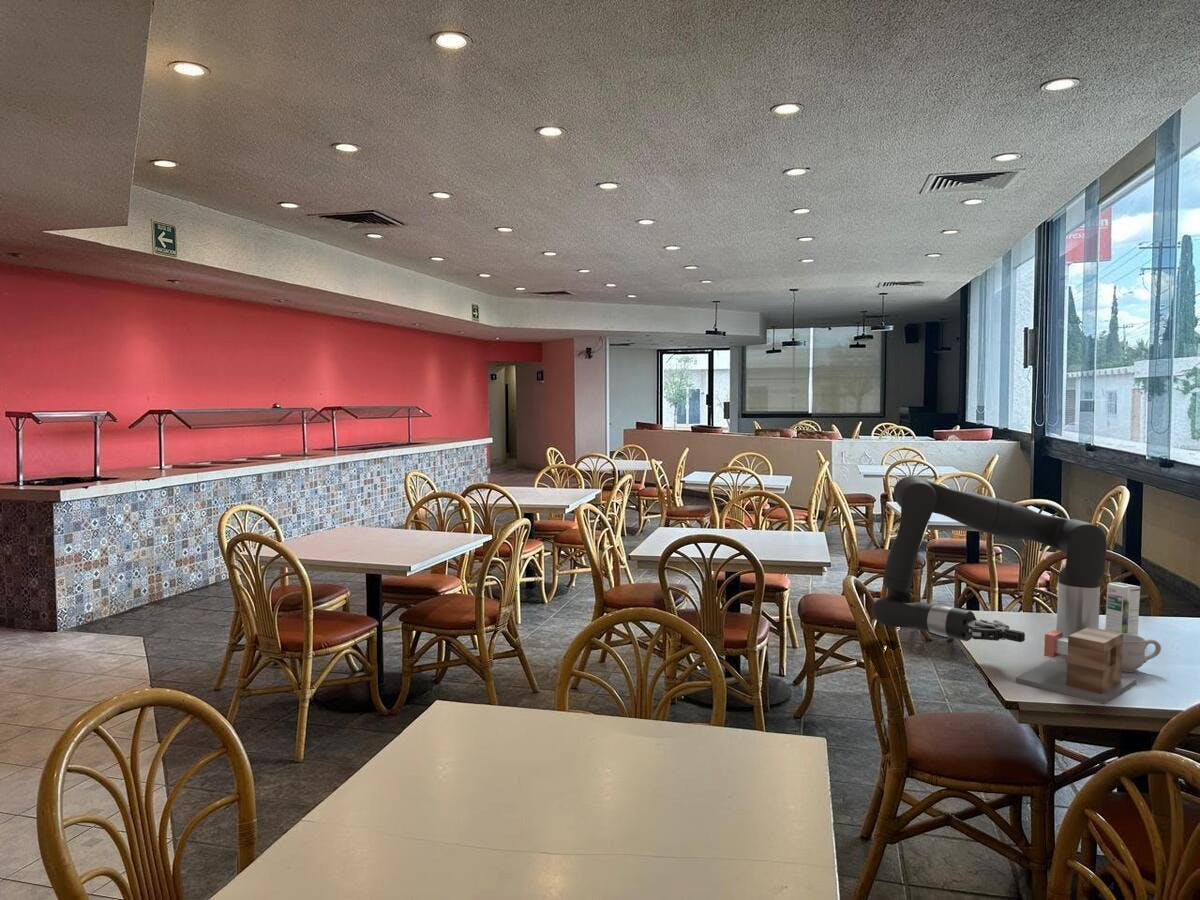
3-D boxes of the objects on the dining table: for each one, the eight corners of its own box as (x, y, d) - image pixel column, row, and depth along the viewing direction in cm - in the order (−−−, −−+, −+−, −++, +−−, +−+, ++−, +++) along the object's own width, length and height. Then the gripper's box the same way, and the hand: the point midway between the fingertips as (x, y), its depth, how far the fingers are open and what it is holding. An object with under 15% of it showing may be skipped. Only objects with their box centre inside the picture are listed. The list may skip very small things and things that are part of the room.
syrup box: (1103, 635, 222) (1106, 583, 222) (1117, 633, 225) (1120, 581, 224) (1124, 641, 217) (1127, 587, 217) (1138, 638, 220) (1141, 585, 219)
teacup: (1092, 671, 192) (1094, 637, 191) (1089, 658, 201) (1090, 626, 201) (1164, 681, 185) (1165, 646, 185) (1157, 667, 195) (1158, 634, 194)
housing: (1085, 678, 186) (1088, 626, 185) (1120, 686, 181) (1123, 633, 180) (1066, 690, 178) (1068, 635, 178) (1101, 698, 173) (1104, 643, 172)
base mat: (1050, 664, 197) (1050, 660, 196) (1135, 683, 183) (1136, 679, 183) (1015, 681, 183) (1015, 677, 183) (1104, 704, 170) (1105, 699, 170)
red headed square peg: (1052, 651, 188) (1053, 630, 188) (1096, 661, 181) (1097, 638, 181) (1044, 655, 185) (1045, 634, 185) (1088, 665, 178) (1089, 642, 178)
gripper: (938, 611, 199) (1012, 626, 186) (963, 603, 208) (1035, 617, 195) (937, 642, 200) (1010, 658, 186) (963, 632, 208) (1034, 648, 195)
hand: (1023, 637), depth 191 cm, fingers closed
